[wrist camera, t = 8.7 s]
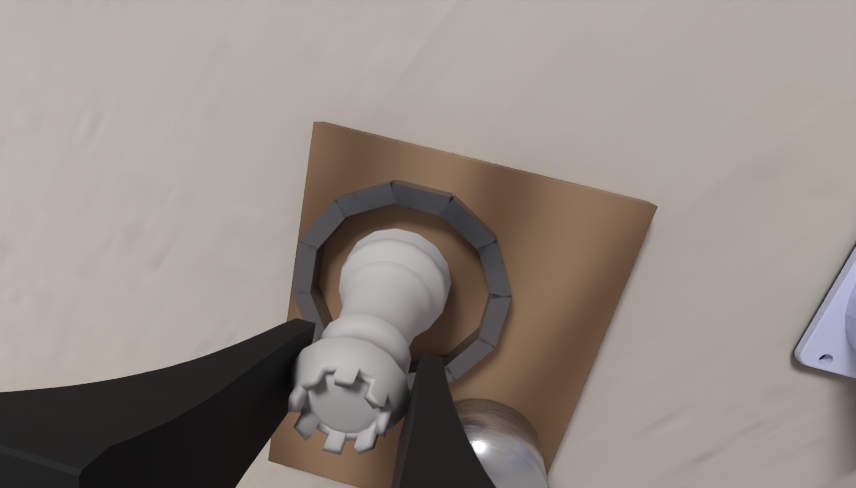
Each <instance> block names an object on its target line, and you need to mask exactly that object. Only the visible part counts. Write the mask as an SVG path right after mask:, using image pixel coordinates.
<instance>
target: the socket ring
mask: <svg viewBox="0 0 856 488" xmlns="http://www.w3.org/2000/svg"><path fill="white" fill-rule="evenodd" d="M451 196H452V193H450V192H446V191H442V190H438V189H434V188H430V187H426V186H422V185H418V184H414V183H410V182H406V181H402V180H396V181H395V180H392V181H388V182H385V183H381V184H378V185H375V186H371V187H368V188H365V189H361V190H358V191H355V192H351V193H348V194H345V195H342V196H341V197H339V198H337V199H335V200H334V201H333V202H332V203H331V204H330V205H329V206H328V208H327V209H326V210H325V211H324V212H323V213H322V214H321V216H320V217H319V218H318V219H317V220H316V221H315V223H314V224H313V225H312V226H311V227H310V228H309V230H308V231H307V232H306V233H305V234H304V235H303V237H302V238H301V239H300V240H301V241H300V242H299V245H298V252H297V259H296V267H295V274H294V281H293V289H292V291H294V293H293V296H294V299H295V301H296V304H297V306H298V308H299V311H300V313H301V316H302V318H303V320H306V321H310V322H313V323H316V325H315V331H314V337H313V339H315V340H314V343H315V342H317V341H319V340H320V337H321V334H322V333H323V332H324V330H325V329H326V327H327V326H328V325H329V323H331V322H333V319H332V316H331V314H330V311H329V309H328V306H327V304H326V301H325V299H324V296H323V293H322V291H321V288H320V286H319V280H320V274H321V267H322V261H323V255H324V248H325V243H326V242H327V241H328V240H329V239H330V238H331V236H332V235H333V234H334V233H335V232H336V231H337V230H338V229H339V227H340V226H341V225H342V224H343V223H344V222H345V221H346V220H347V218H348V217H349V216H350V215H354V214H357V213H361V212H364V211H368V210H371V209H375V208H378V207H382V206H385V205H389V204H392V203H393V204H396V205H400V206H404V207H408V208H412V209H416V210H420V211H424V212H428V213H432V214H436V215H440V216H442V217H443V218H444V219H445V220H447V221H448V222H449V223H450V224H451V225H452V226H453V227H454V228H455V229H456V230H457V231H458V232H459V233H460V234H461V235H462V236H463V237H464V238H465V239H466V240H468V241H469V242H470V243H471V244H472V245H473V246H474V247H475V248H476V249H477V250H478V251H479V255H480V258H481V262H482V265H483V269H484V272H485V276H486V279H487V283H488V286H489V290H490V291H489V295H488V298H487V301H486V305H485V308H484V311H483V314H482V318H481V321H480V324H479V327H478V328H477V329H476V330H475V331H474V332H472V333H471V334H470V335H469V336H468V337H467V338H466V339H464V340H463V341H462V342H461V343H460V344H459V345H457V346H456V347H455V348H454V349H453V350H452V351H451V352H449V353H448V354H445V355H440V356H437V357H441V358H442V359H443V361H444V366H445V373H446V377H447V382H452V381H454V378H455V379H456V380H457V379H458V378H460V377H461V376H462V375H463V374H464V373H466V372H467V371H468V370H469V369H470V368H472V367H473V366H474V365H475V364H476V363H478V362H479V361H480V360H481V359H482V358H484V357H485V356H486V355H487V354H488V353H490V352H491V351H492V350H493V349H494V346H496V345H497V341H498V338H499V335H500V332H501V329H502V326H503V323H504V320H505V317H506V313H507V310H508V307H509V304H510V301H511V289H510V284H509V280H508V277H507V273H506V269H505V265H504V262H503V258H502V254H501V251H500V247H499V243H498V240H497V236H495V233H494V232H493V231H492V230H491V229H490V228H489V227H488V226H487V225H486V224H485V223H484V222H483V221H482V220H481V219H480V218H479V217H478V216H477V215H476V214H475V213H474V212H473V211H471V210H470V209H469V208H468V207H467V206H466V205H465V204H464V203H463V202H462V201H461V200H460V199H459V198H458V197H457V196H456V195H454V196H453V197H452V198H451ZM418 363H419V360H415V361H411V362H410V367H409V371H408V374H407V375H406V379H407V383H408V387H409V389H412V387H413V383H414V379H415V375H416V371H417V367H418Z"/></svg>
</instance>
